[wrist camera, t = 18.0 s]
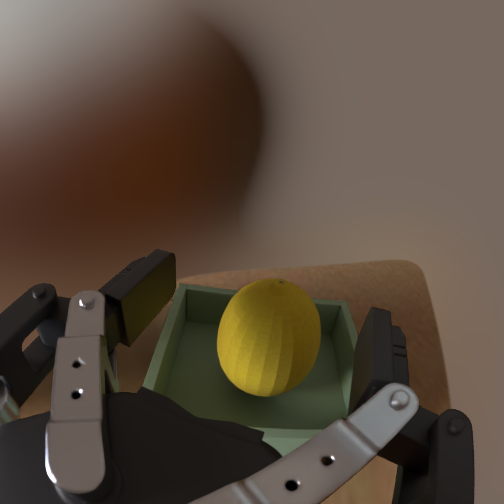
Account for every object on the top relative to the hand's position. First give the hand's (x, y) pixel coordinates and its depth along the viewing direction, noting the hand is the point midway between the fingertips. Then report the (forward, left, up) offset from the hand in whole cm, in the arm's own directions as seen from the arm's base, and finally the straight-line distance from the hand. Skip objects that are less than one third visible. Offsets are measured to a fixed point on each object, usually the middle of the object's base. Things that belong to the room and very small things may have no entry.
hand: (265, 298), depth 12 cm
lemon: (+1, +2, -9) cm, 9 cm away
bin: (+1, +3, -10) cm, 10 cm away
